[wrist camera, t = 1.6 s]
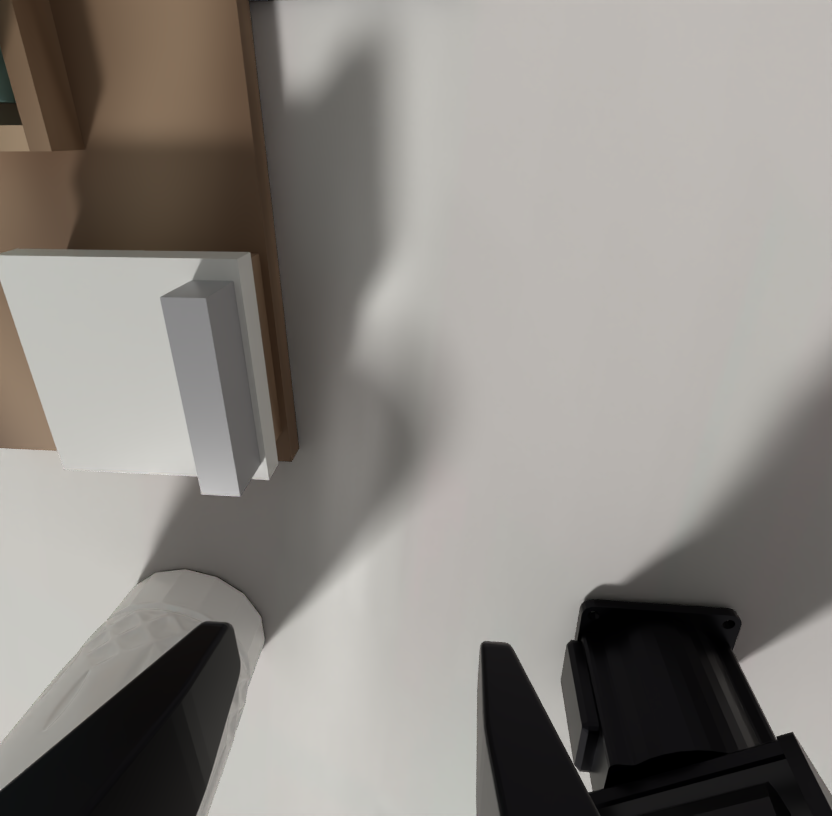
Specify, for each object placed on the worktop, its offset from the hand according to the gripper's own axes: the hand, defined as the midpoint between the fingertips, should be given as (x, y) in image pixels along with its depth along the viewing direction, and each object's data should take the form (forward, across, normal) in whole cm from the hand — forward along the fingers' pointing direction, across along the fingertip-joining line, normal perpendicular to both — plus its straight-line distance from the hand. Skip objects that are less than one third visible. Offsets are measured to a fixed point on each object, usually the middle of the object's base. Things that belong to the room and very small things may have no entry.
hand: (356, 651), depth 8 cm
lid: (+10, +9, 0) cm, 13 cm away
